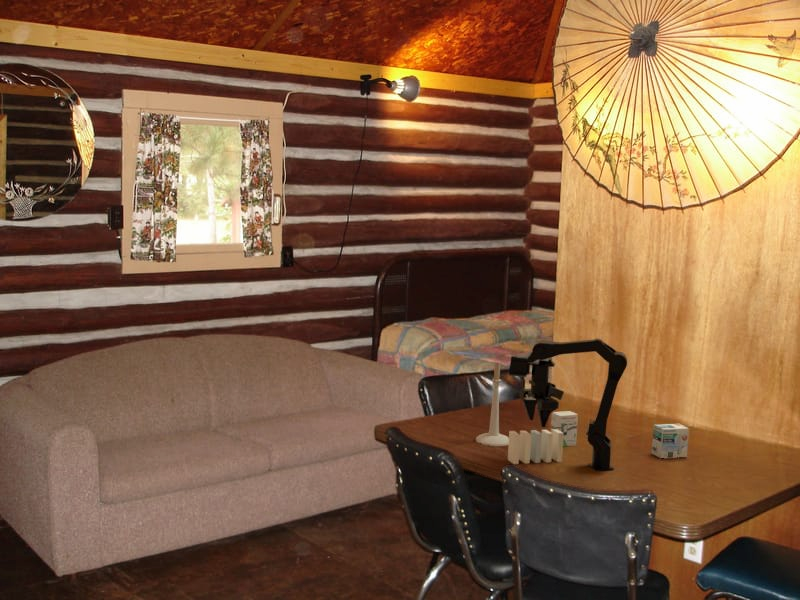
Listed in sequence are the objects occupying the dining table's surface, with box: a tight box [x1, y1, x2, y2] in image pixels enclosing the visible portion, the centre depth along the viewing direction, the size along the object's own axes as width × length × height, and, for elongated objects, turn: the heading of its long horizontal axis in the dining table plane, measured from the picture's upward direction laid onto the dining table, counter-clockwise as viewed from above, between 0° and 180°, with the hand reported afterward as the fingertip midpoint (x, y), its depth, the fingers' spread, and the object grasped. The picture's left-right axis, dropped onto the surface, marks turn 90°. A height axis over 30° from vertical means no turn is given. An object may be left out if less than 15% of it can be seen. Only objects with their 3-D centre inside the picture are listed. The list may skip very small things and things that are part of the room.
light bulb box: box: [651, 423, 690, 459], centre depth 317 cm, size 11×7×11 cm, turn 105°
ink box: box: [550, 410, 579, 447], centre depth 326 cm, size 9×5×12 cm, turn 117°
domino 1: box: [507, 430, 520, 465], centre depth 303 cm, size 5×2×10 cm, turn 16°
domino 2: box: [519, 430, 531, 464], centre depth 304 cm, size 5×2×10 cm, turn 16°
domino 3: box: [530, 429, 542, 464], centre depth 305 cm, size 5×2×10 cm, turn 16°
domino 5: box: [551, 429, 564, 463], centre depth 307 cm, size 5×2×10 cm, turn 16°
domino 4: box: [540, 429, 553, 463], centre depth 306 cm, size 5×2×10 cm, turn 16°
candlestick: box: [475, 360, 509, 447], centre depth 326 cm, size 13×13×30 cm
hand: (537, 423), depth 304 cm, fingers open, 9 cm apart
